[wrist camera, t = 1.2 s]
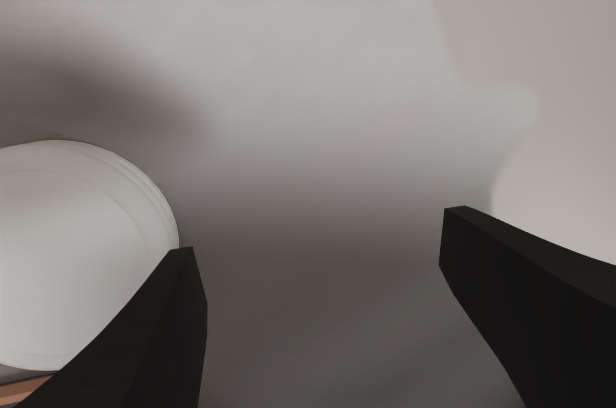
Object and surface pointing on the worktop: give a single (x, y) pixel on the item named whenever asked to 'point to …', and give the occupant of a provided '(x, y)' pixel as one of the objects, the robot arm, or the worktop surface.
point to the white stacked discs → (72, 246)
